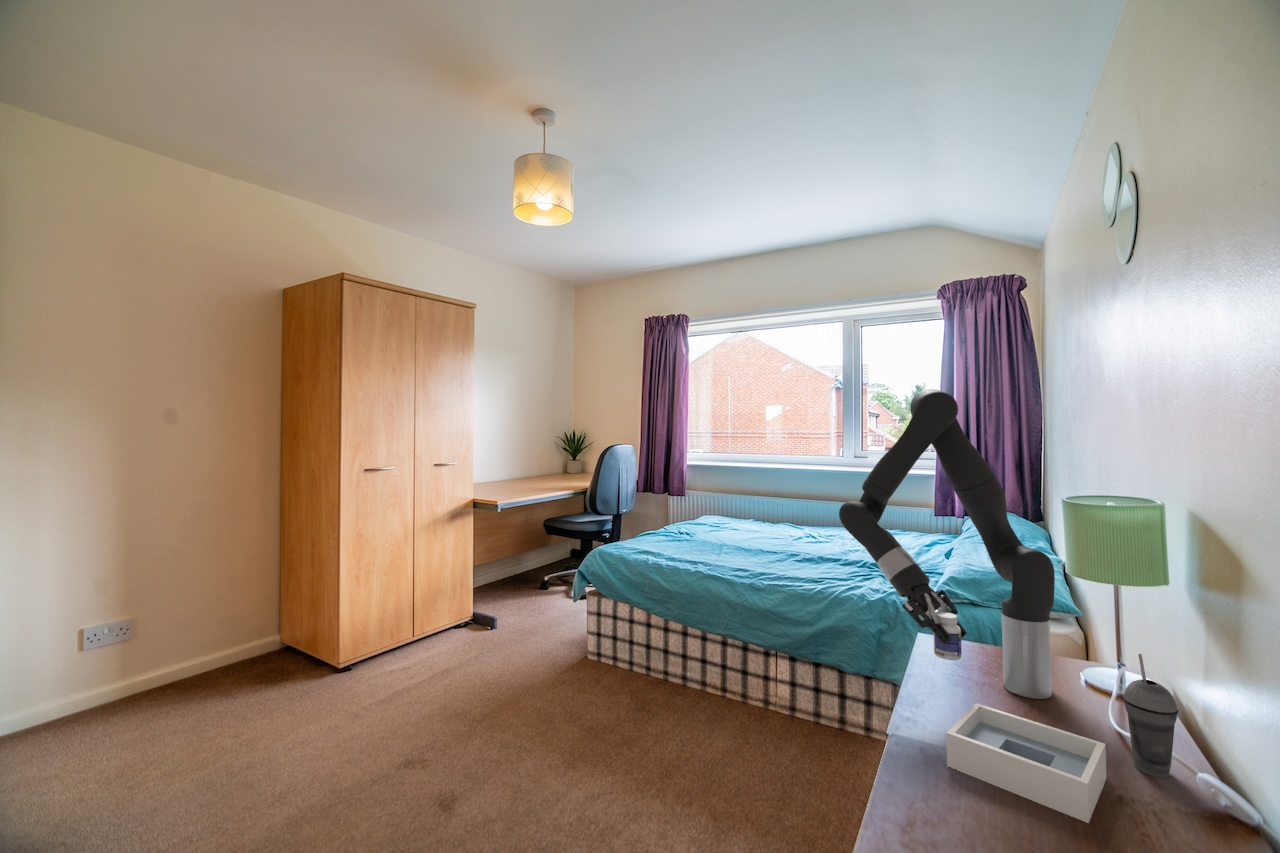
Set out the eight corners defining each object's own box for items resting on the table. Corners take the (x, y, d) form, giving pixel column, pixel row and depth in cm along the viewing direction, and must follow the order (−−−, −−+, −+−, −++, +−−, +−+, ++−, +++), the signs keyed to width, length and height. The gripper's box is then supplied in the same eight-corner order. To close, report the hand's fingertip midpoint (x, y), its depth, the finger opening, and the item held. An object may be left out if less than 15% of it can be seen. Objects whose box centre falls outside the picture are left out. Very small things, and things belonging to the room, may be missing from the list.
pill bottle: (965, 661, 116) (964, 619, 116) (938, 660, 117) (937, 618, 117) (956, 651, 121) (955, 611, 121) (930, 650, 122) (929, 610, 122)
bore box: (976, 733, 110) (975, 703, 110) (1106, 778, 95) (1105, 743, 95) (947, 766, 99) (946, 732, 99) (1088, 823, 84) (1087, 783, 84)
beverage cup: (1169, 787, 92) (1166, 668, 93) (1116, 765, 99) (1113, 653, 99) (1188, 775, 96) (1184, 659, 96) (1135, 753, 102) (1132, 645, 102)
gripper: (894, 567, 122) (949, 637, 112) (930, 558, 130) (986, 623, 119) (873, 585, 126) (925, 655, 116) (910, 576, 134) (961, 640, 124)
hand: (955, 638), depth 118 cm, fingers closed on pill bottle, 5 cm apart
